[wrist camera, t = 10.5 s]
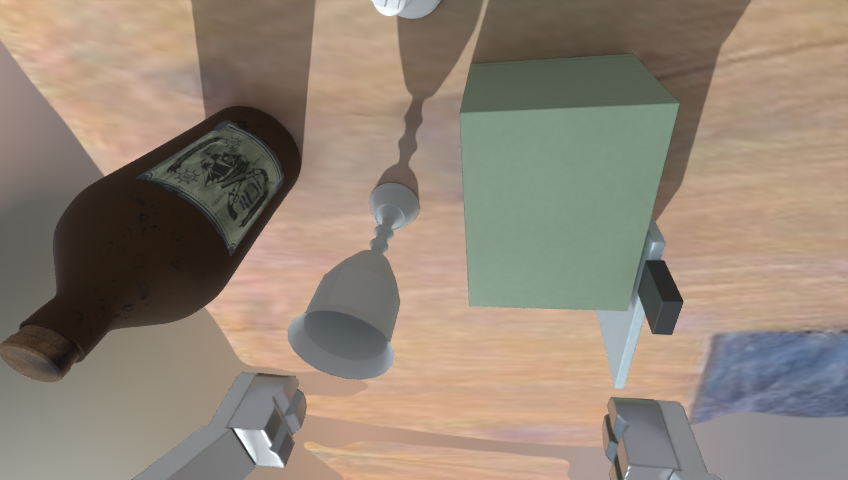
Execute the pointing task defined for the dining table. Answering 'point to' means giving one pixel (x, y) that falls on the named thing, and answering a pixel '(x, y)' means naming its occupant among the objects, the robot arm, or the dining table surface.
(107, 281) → the dark brown necked cylinder
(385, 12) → the chess piece
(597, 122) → the cabinet
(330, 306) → the chalice
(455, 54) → the dining table surface
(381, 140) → the dining table surface
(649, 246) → the sliding door
